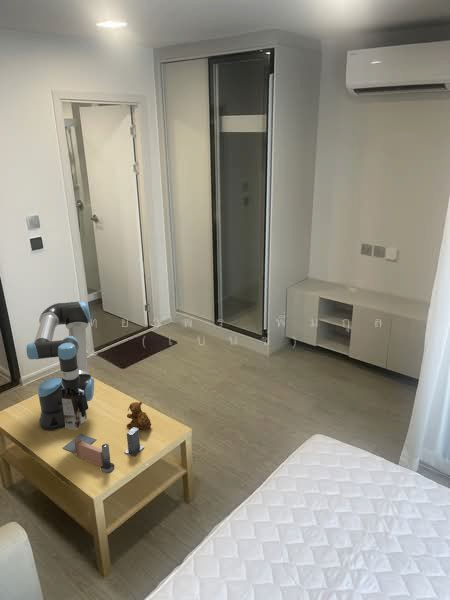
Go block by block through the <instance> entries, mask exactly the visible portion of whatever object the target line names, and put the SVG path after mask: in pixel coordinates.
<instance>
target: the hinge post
mask: <svg viewBox="0 0 450 600" xmlns="http://www.w3.org/2000/svg"><path fill="white" fill-rule="evenodd" d="M101 449H102V455H103V463H104V465H103V466H100V472H101V473H103V474H109V473H111V472H113V471H114V470H115V468H116V467H115V464H114V463H112V462H111V454H110V446H109V444H108V443H104V444H102V445H101Z"/></svg>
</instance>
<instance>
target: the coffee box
mask: <svg viewBox="0 0 450 600" xmlns="http://www.w3.org/2000/svg"><path fill="white" fill-rule="evenodd" d="M81 390H82V389H81ZM75 396H76V397H73V396H72V395H70V394H68V395H65V396H64V397H63V398H62V404H63V411H64V418H65V428H66V429H70V430H79V428H81V426H82V425H83V424H84V423H85V422H86V421H84V422H83V423H82V424H81V423H80V418H79V411H80V410H79V407H78V401H77V400H78V397H79V394H77V395H75ZM85 414H86V415H85V420H87V419H88V416H87V410H86V411H85Z"/></svg>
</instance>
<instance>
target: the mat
mask: <svg viewBox="0 0 450 600" xmlns="http://www.w3.org/2000/svg"><path fill="white" fill-rule="evenodd" d="M77 438H78V439H81V442H84V443H87V444H89V445H92V444H94V443H95V442H96V441H97V439H96V438H94V437H91V436H89V435H86V434H83V433H79V434H78V435H77V436H75V437H74V438H73V439H72V440H70V441H69V442H68V443H66V444H65V445H63V447H62V449H63V450H66V451H68V452H71V453H73V454H74V455H76V449H75V442H74V441H75V440H76V439H77Z"/></svg>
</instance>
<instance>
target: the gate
mask: <svg viewBox="0 0 450 600" xmlns="http://www.w3.org/2000/svg"><path fill="white" fill-rule="evenodd" d="M74 442H75V449H76V454H75V456H76V457H78V458H81V459H83V460H86V461H88V462H90V463H93V464H95V465H98V466H100V467H101V466H103V465H104V463H103V455H102V448H99V447H97V446H94V445H92V444H91V445H89V444H87V443H84V442H81V439H78V438H77V439H76V440H75V441H74Z"/></svg>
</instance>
